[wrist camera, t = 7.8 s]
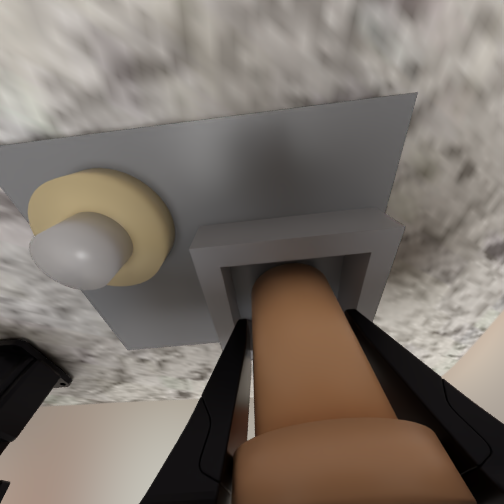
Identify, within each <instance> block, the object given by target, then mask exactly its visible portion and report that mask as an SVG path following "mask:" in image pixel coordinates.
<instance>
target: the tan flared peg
mask: <svg viewBox="0 0 504 504" xmlns="http://www.w3.org/2000/svg"><path fill="white" fill-rule="evenodd" d="M251 304H252V340H253V377H254V414H255V437H254V438H252V439H250V440H248V441H246V442H245V443H243V444H242V445H240V446H239V447H238V448H237V449H236V450H235V452H234V454H233V470H232V495H231V504H477V502H476V500H475V498H474V497H473V495H472V494H471V492H470V490H469V489H468V487H467V485H466V484H465V482H464V480H463V479H462V477H461V475H460V474H459V472H458V470H457V469H456V467H455V465H454V464H453V462H452V460H451V459H450V457H449V456H448V454H447V452H446V451H445V449H444V447H443V446H442V444H441V442H440V441H439V439H438V437H437V436H436V434H435V433H434V432H433V431H432V430H431V429H430V428H428V427H426V426H424V425H421V424H418V423H415V422H411V421H406V420H399V419H398V418H397V416H396V414H395V412H394V410H393V408H392V407H391V405H390V403H389V401H388V399H387V397H386V395H385V393H384V391H383V389H382V387H381V385H380V383H379V381H378V379H377V377H376V375H375V373H374V371H373V369H372V367H371V365H370V363H369V361H368V359H367V357H366V355H365V354H364V352H363V350H362V348H361V346H360V344H359V342H358V340H357V338H356V336H355V334H354V332H353V330H352V328H351V326H350V324H349V322H348V320H347V318H346V316H345V314H344V312H343V310H342V308H341V306H340V304H339V302H338V300H337V299H336V297H335V295H334V293H333V291H332V289H331V287H330V285H329V283H328V281H327V279H326V277H325V276H324V274H323V273H322V272H321V271H319V270H318V269H316V268H315V267H312V266H310V265H306V264H301V263H289V264H283V265H279V266H276V267H273V268H271V269H269V270H268V271H266V272H265V273H263V274H262V275H261V276H260V277H259V278H258V279H257V280H256V282H255V283H254V285H253V288H252V292H251Z"/></svg>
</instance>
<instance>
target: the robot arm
mask: <svg viewBox="0 0 504 504" xmlns="http://www.w3.org/2000/svg"><path fill="white" fill-rule="evenodd" d="M344 314H345V316H346V318H347V320H348V322H349V324H350V326H351V328H352V330H353V332H354V334H355V336H356V338H357V340H358V342H359V344H360V346H361V348H362V350H363V352H364V354H365V355H366V357H367V359H368V361H369V363H370V365H371V367H372V369H373V371H374V373H375V375H376V377H377V379H378V381H379V383H380V385H381V387H382V389H383V391H384V393H385V395H386V397H387V399H388V401H389V403H390V405H391V407H392V408H393V410H394V412H395V414H396V416H397V418H398V419H399V420H406V421H411V422H415V423H418V424H421V425H424V426H426V427H428V428H430V429H431V430H432V431H433V432H434V433H435V434H436V436H437V437H438V439H439V441H440V442H441V444H442V446H443V447H444V449H445V451H446V452H447V454H448V456H449V457H450V459H451V460H452V462H453V464H454V465H455V467H456V469H457V470H458V472H459V474H460V475H461V477H462V479H463V480H464V482H465V484H466V485H467V487H468V489H469V490H470V492H471V494H472V495H473V497H474V498H475V500H476V502H477V504H504V424H503V423H502V422H500V421H499V420H497V419H496V418H495V417H493V416H492V415H491V414H489V413H488V412H486V411H485V410H484V409H482V408H481V407H479V406H478V405H477V404H475V403H474V402H473V401H471V400H470V399H469V398H468V397H466V396H465V395H464V394H462V393H461V392H460V391H458V390H457V389H456V388H455V387H453V386H452V385H451V384H450V383H448V382H447V381H446V380H445V379H442V378H441V376H439V375H438V374H437V373H436V372H434V371H433V370H432V369H431V368H429V367H428V366H427V365H425V364H424V363H423V362H422V361H420V360H419V359H418V358H417V357H415V356H414V355H413V354H412V353H410V352H409V351H408V350H407V349H405V348H404V347H403V346H402V345H400V344H399V343H398V342H397V341H395V340H394V339H393V338H391V337H390V336H389V335H388V334H386V333H385V332H384V331H383V330H381V329H380V328H379V327H378V326H376V325H375V324H374V323H373V322H371V321H370V320H369V319H368V318H366V317H365V316H364V315H363V314H361V313H360V312H359V311H357V310H356V309H346V310H345V312H344ZM71 382H72V379H71V378H70V377H69V376H68V375H66V374H65V373H64V372H63V371H61V370H60V369H59V368H58V367H57V366H55V365H54V364H53V363H52V362H51V361H49V360H48V359H47V358H46V357H44V356H43V355H42V354H41V353H40V352H38V351H37V350H36V349H35V348H33V347H32V346H31V345H30V344H29V343H27V342H26V341H23V340H17V339H16V340H5V341H0V455H1V454H2V452H3V451H4V449H5V448H6V447H7V446H8V444H9V443H10V442H12V441H14V440H15V439H16V438H17V437H18V435H19V434H20V433H21V431H22V430H23V429H24V427H25V426H26V424H27V423H28V422H29V420H30V419H31V418H32V416H33V414H34V413H35V412H36V411H37V409H38V408H39V407H40V405H41V404H42V402H43V401H44V400H45V398H46V397H47V396H48V394H49V393H50V391H51V390H52V389H53V388H59V387H68V386H69V385H70V384H71ZM250 383H251V350H250V332H249V325H248V320H247V319H246V318H245V319H239V320H238V321H237V323H236V325H235V327H234V329H233V331H232V333H231V335H230V337H229V339H228V341H227V344H226V346H225V348H224V350H223V352H222V354H221V356H220V358H219V360H218V362H217V364H216V366H215V368H214V371H213V373H212V375H211V377H210V379H209V381H208V383H207V385H206V387H205V389H204V391H203V393H202V397H201V398H200V399H199V401H198V404H197V406H196V408H195V410H194V412H193V414H192V415H191V417H190V419H189V422H188V423H187V425H186V427H185V429H184V431H183V432H182V434H181V436H180V437H179V439H178V441H177V443H176V444H175V446H174V448H173V449H172V451H171V453H170V454H169V456H168V458H167V459H166V461H165V463H164V464H163V466H162V468H161V469H160V471H159V473H158V475H157V476H156V478H155V479H154V481H153V483H152V484H151V486H150V488H149V489H148V491H147V493H146V494H145V496H144V497H143V499H142V500H141V502H140V503H139V504H231V495H232V470H233V454H234V452H235V450H236V449H237V448H238V447H239V446H240V445H242V444H243V443H245V442H246V441H247V432H248V415H249V399H250ZM9 485H10V482H8V481H4V480H0V503H1V501H2V499H3V497H4V495H5V493H6V491H7V489H8V487H9Z"/></svg>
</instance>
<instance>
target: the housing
mask: <svg viewBox="0 0 504 504" xmlns="http://www.w3.org/2000/svg"><path fill="white" fill-rule="evenodd" d="M417 94H418V92H415V93H408V94H400V95H392V96H384V97H376V98H368V99H361V100H353V101H345V102H337V103H329V104H322V105H314V106H306V107H298V108H290V109H282V110H275V111H267V112H259V113H251V114H243V115H235V116H228V117H220V118H212V119H204V120H196V121H189V122H181V123H173V124H165V125H157V126H149V127H142V128H134V129H126V130H118V131H110V132H103V133H95V134H87V135H79V136H71V137H63V138H56V139H48V140H40V141H32V142H24V143H17V144H9V145H1V146H0V187H1V188H2V190H3V191H4V192H5V193H6V195H7V196H8V197H9V199H10V200H11V201H12V202H13V204H14V205H15V206H16V207H17V209H18V210H19V211H20V213H21V214H22V215H23V216H24V218H25V219H26V220H27V222H28V223H29V224H30V226H31V229H32V231H33V234H34V235H35V237H33V239H32V240H31V242H30V247H29V248H30V254H31V257H32V259H33V261H34V262H35V264H36V265H37V266H38V268H39V269H40V270H41V271H42V272H44V273H45V274H46V275H47V276H49V277H50V278H52V279H53V280H55V281H57V282H59V283H61V284H63V285H65V286H68V287H71V288H75V289H80V290H81V291H82V292H83V293H84V295H85V296H86V297H87V299H88V300H89V301H90V302H91V304H92V305H93V306H94V308H95V309H96V310H97V311H98V313H99V314H100V315H101V316H102V318H103V319H104V320H105V322H106V323H107V324H108V325H109V327H110V328H111V329H112V331H113V332H114V333H115V334H116V336H117V337H118V338H119V340H120V341H121V342H122V343H123V345H124V346H125V347H126V349H127V350H136V349H147V348H159V347H171V346H182V345H194V344H206V343H217V342H220V345H221V348H222V351H223V350H224V348H225V346H226V344H227V341H228V339H229V337H230V335H231V333H232V331H233V329H234V327H235V325H236V323H237V321H238V320H239V319H245V318H246V319H247V320H248V325H249V332H250V350H251V360H253V340H252V304H251V292H252V288H253V285H254V283H255V282H256V280H257V279H258V278H259V277H260V276H261V275H262V274H263V273H265V272H266V271H268V270H269V269H271V268H273V267H276V266H279V265H283V264H289V263H301V264H306V265H310V266H312V267H315V268H316V269H318V270H319V271H321V272H322V273H323V274H324V276H325V277H326V279H327V281H328V283H329V285H330V287H331V289H332V291H333V293H334V295H335V297H336V299H337V300H338V302H339V304H340V306H341V308H342V310H343V312H345V310H346V309H356V310H357V311H359V312H360V313H361V314H363V315H364V316H365V317H366V318H368V319H369V320H370V321H371V322H373V320H374V317H375V314H376V311H377V308H378V305H379V302H380V299H381V296H382V293H383V291H384V288H385V285H386V282H387V279H388V276H389V273H390V270H391V267H392V264H393V262H394V259H395V256H396V253H397V250H398V247H399V244H400V241H401V238H402V235H403V233H404V230H405V226H404V225H402V224H401V223H399V222H398V221H396V220H395V219H393V218H392V217H390V216H389V215H387V214H385V211H386V208H387V204H388V200H389V197H390V193H391V189H392V186H393V182H394V178H395V175H396V171H397V167H398V164H399V160H400V156H401V153H402V149H403V145H404V142H405V138H406V134H407V131H408V127H409V123H410V120H411V116H412V112H413V109H414V105H415V101H416V98H417Z"/></svg>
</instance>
